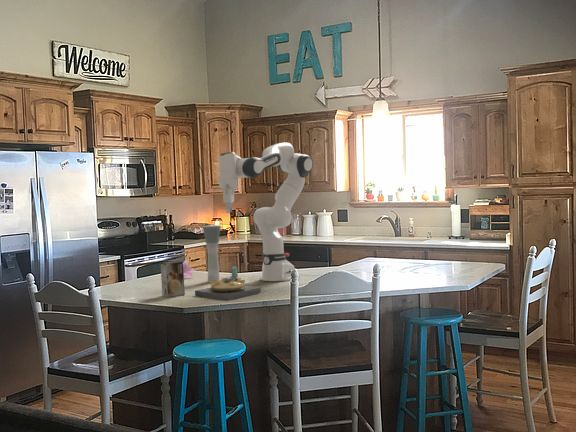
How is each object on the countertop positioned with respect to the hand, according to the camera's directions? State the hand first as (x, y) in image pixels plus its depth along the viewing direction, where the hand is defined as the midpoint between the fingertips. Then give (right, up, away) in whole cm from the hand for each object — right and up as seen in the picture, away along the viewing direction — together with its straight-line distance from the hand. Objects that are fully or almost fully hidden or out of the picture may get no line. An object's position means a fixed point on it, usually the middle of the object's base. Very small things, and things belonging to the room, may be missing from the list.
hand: (229, 212), depth 323 cm
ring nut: (+1, -36, -9) cm, 37 cm away
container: (-11, -37, +28) cm, 48 cm away
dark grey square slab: (+1, -39, -13) cm, 41 cm away
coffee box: (-26, -40, -10) cm, 49 cm away
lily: (-29, -37, +43) cm, 64 cm away
